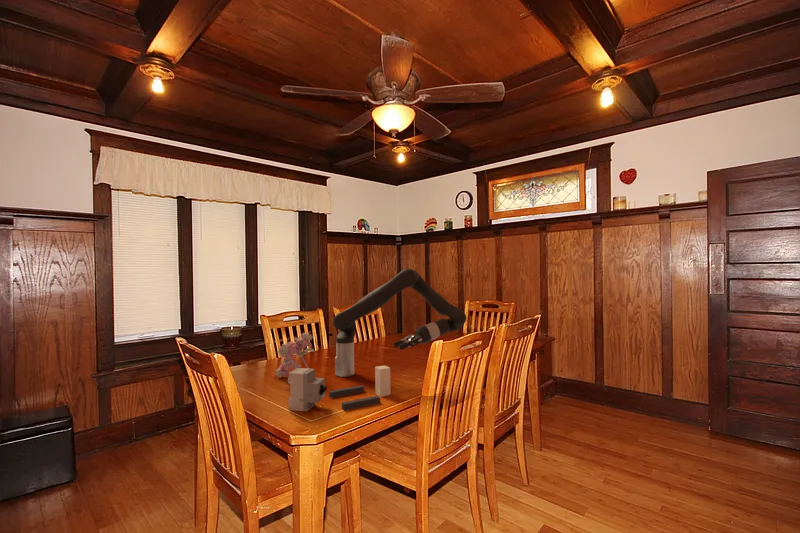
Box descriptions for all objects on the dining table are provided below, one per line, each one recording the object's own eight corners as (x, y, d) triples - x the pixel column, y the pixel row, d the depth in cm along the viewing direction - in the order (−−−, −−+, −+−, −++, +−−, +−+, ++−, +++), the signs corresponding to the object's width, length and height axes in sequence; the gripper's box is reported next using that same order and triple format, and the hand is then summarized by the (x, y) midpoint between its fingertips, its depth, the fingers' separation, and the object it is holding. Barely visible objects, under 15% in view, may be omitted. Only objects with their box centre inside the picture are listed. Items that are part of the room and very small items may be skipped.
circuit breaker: (321, 412, 153) (321, 374, 152) (288, 410, 155) (288, 372, 155) (329, 405, 160) (328, 369, 160) (297, 403, 163) (296, 367, 163)
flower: (305, 365, 219) (285, 327, 211) (331, 367, 204) (311, 327, 197) (278, 389, 204) (256, 350, 197) (304, 393, 190) (281, 351, 183)
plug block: (385, 391, 177) (385, 365, 176) (390, 394, 172) (390, 367, 172) (375, 393, 174) (375, 366, 174) (380, 396, 170) (380, 369, 170)
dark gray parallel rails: (362, 390, 178) (362, 385, 178) (380, 403, 162) (380, 397, 162) (328, 396, 171) (328, 391, 171) (344, 410, 154) (343, 404, 154)
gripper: (419, 324, 186) (389, 337, 181) (431, 326, 172) (398, 340, 167) (424, 339, 186) (394, 352, 181) (436, 341, 172) (404, 356, 167)
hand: (396, 346), depth 174 cm, fingers open, 8 cm apart
